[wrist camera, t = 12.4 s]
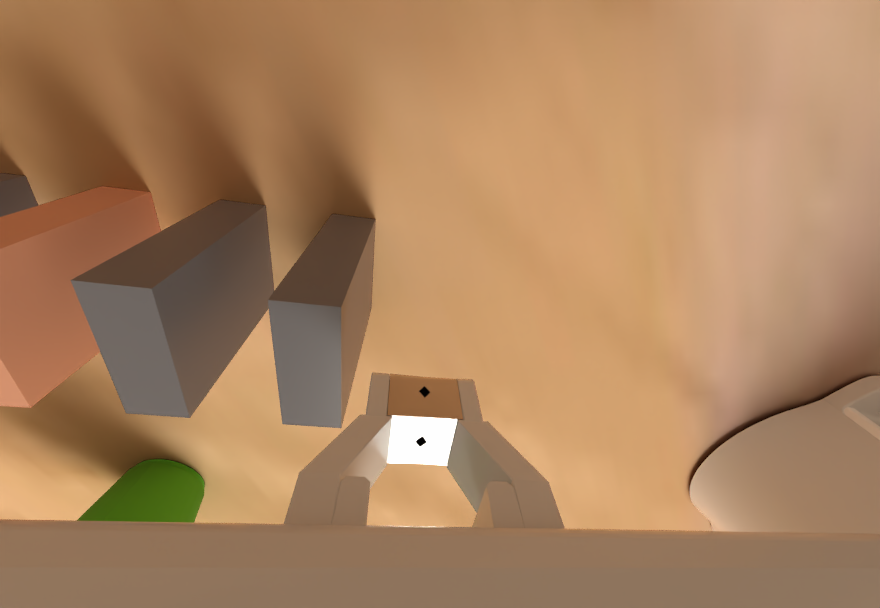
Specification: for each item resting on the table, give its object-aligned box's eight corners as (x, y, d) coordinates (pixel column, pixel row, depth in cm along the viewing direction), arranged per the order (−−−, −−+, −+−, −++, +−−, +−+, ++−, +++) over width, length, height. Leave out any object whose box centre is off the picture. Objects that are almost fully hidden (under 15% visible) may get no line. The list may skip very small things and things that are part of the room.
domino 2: (265, 205, 17) (151, 288, 10) (275, 299, 19) (189, 417, 12) (219, 199, 16) (70, 280, 10) (235, 295, 19) (126, 413, 12)
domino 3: (375, 219, 17) (341, 307, 10) (371, 308, 20) (341, 428, 13) (332, 213, 17) (267, 300, 10) (333, 305, 19) (282, 424, 13)
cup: (127, 514, 29) (-21, 724, 19) (77, 437, 24) (-151, 664, 15) (245, 515, 29) (157, 720, 20) (218, 440, 25) (88, 661, 15)
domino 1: (150, 192, 16) (-55, 269, 9) (176, 289, 19) (30, 407, 12) (102, 186, 16) (-144, 260, 9) (135, 285, 18) (-39, 403, 12)
